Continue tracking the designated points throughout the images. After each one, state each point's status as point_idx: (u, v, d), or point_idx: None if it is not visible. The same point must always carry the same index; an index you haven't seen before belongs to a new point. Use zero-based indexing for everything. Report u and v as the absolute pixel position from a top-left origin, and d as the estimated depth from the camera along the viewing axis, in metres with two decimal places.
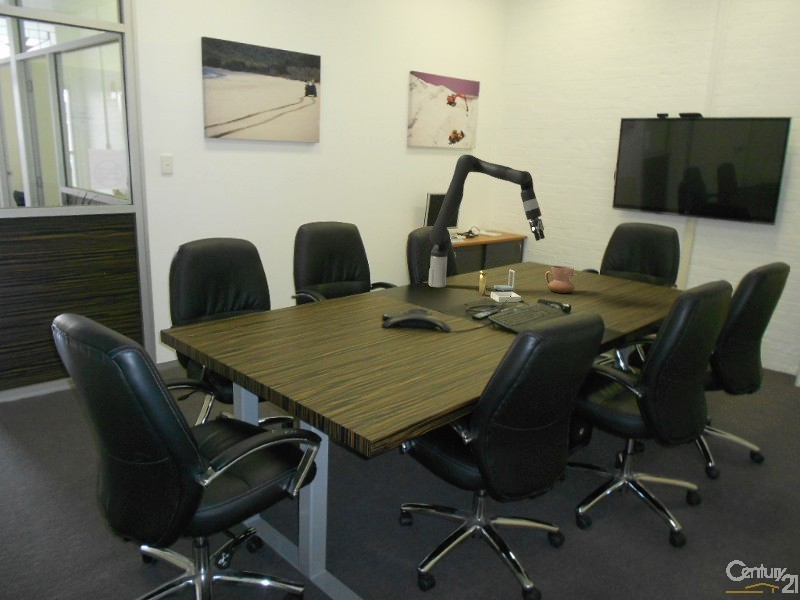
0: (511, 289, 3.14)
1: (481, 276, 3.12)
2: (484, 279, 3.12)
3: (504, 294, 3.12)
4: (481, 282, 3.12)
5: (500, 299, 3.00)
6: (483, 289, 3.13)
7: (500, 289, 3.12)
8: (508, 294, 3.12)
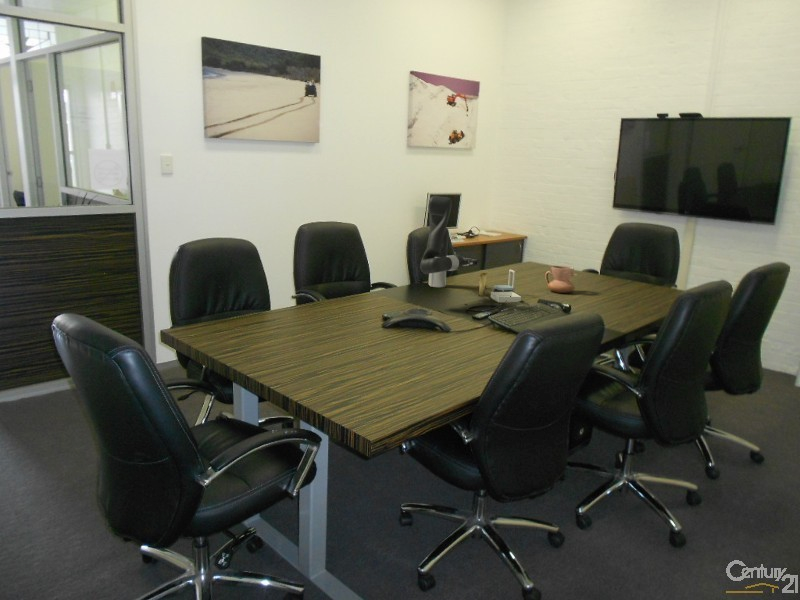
0: (511, 289, 3.14)
1: (481, 276, 3.12)
2: (484, 279, 3.12)
3: (504, 294, 3.12)
4: (481, 282, 3.12)
5: (500, 299, 3.00)
6: (483, 289, 3.13)
7: (500, 289, 3.12)
8: (508, 294, 3.12)
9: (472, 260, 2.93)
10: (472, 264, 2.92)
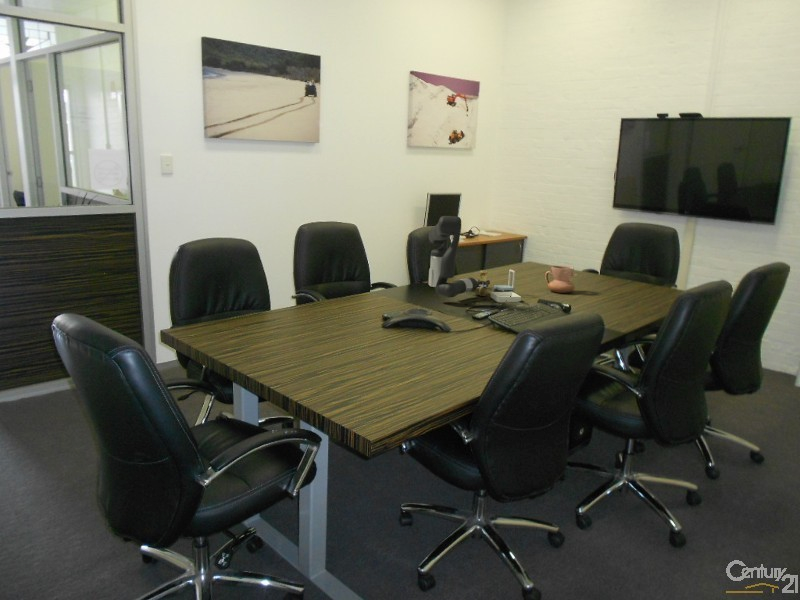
0: (511, 289, 3.14)
1: (481, 276, 3.12)
2: (484, 279, 3.12)
3: (504, 294, 3.12)
4: None
5: (500, 299, 3.00)
6: (483, 289, 3.13)
7: (500, 289, 3.12)
8: (508, 294, 3.12)
9: (485, 282, 3.07)
10: (486, 286, 3.06)
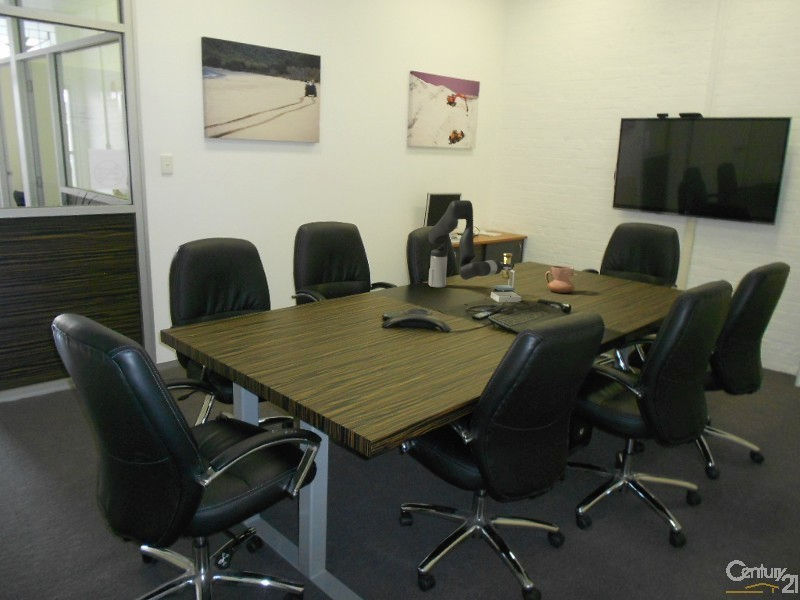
0: (511, 289, 3.14)
1: (505, 259, 3.01)
2: (508, 262, 3.00)
3: (504, 294, 3.12)
4: None
5: (500, 299, 3.00)
6: (507, 272, 3.02)
7: (500, 289, 3.12)
8: (508, 294, 3.12)
9: (509, 265, 2.95)
10: (511, 269, 2.95)
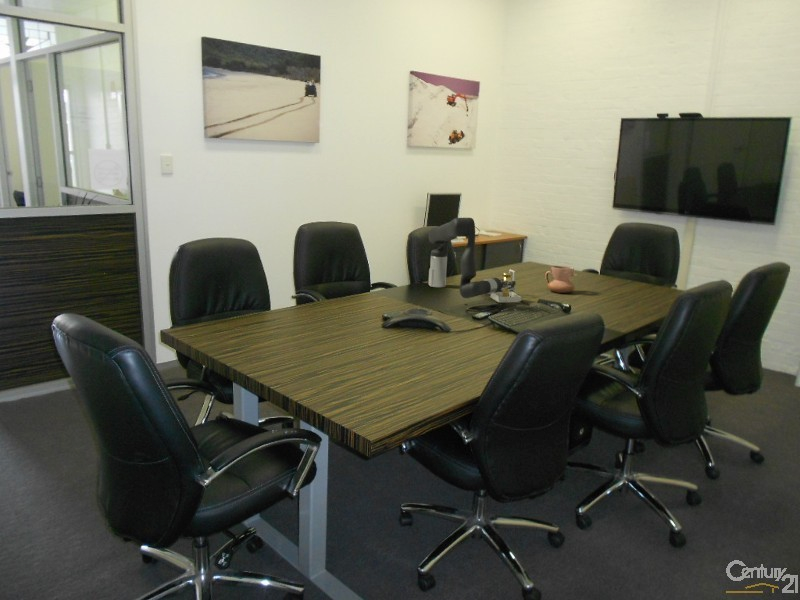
0: (511, 289, 3.14)
1: (505, 278, 3.03)
2: (508, 281, 3.03)
3: None
4: None
5: (500, 299, 3.00)
6: (507, 292, 3.04)
7: None
8: None
9: (510, 283, 2.97)
10: (510, 287, 2.96)
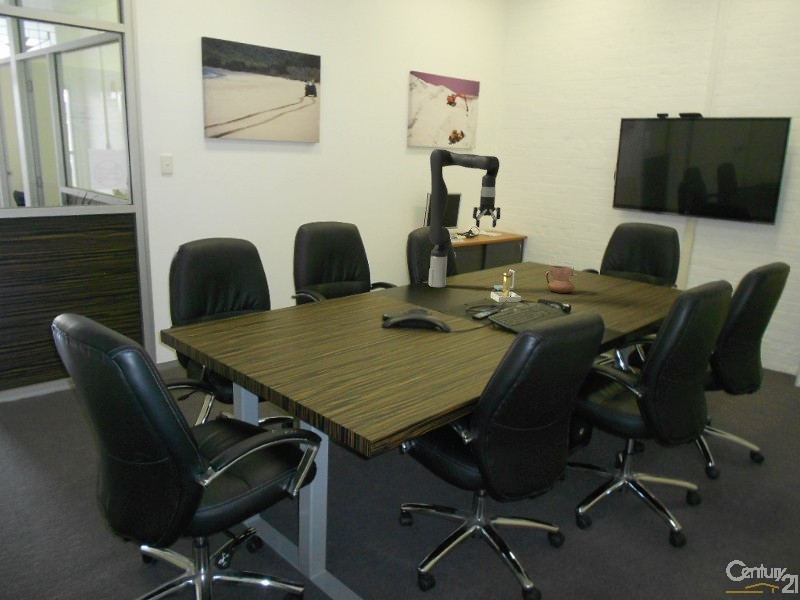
0: (511, 289, 3.14)
1: (505, 278, 3.03)
2: (508, 281, 3.03)
3: None
4: (505, 284, 3.03)
5: (500, 299, 3.00)
6: (507, 292, 3.04)
7: (500, 289, 3.12)
8: None
9: None
10: None
